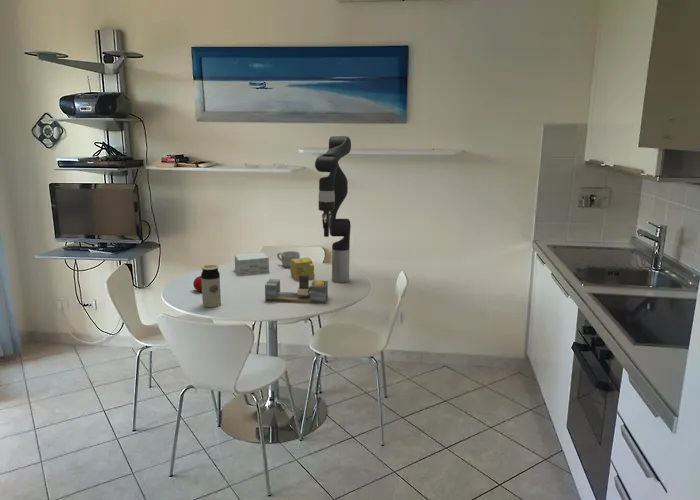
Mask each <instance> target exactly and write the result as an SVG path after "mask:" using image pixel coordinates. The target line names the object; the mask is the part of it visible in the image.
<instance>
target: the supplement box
mask: <svg viewBox="0 0 700 500" xmlns="http://www.w3.org/2000/svg"><path fill="white" fill-rule="evenodd" d="M269 260H270V259H269V256H268V255H267V254H266V253H265V252H254V253H241V254H234V271H235V272H236V274H237V275H238V277H243V276H244V277H245V276H254V275H264V274H270V263H269V262H270V261H269Z"/></svg>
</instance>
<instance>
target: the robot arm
mask: <svg viewBox="0 0 700 500" xmlns="http://www.w3.org/2000/svg"><path fill="white" fill-rule="evenodd" d="M351 149H352V142H351V138H350V137H349V136H346V135H342V136H341V135H338V136H336V135H334V136H330V137H329V140H328V150H327V151H326V153H323V154H321V155H319V156H318V157H316V159H315V162H314V168H315V170H316V171H317V172H319V173H329V175H327V176H324V177H320V178H319V180H318V211H320V212H323V213H322V214H321V221H322V228H323V237H325V238H329V235H330V236H331V237H342V238H341V239H340V240H338V241H335V242H333V243H332V244H331V281H332V282H334V283H339V284H340V283H347V282H349V281H350V257H351V256H350V253H351V252H350V250H351V249H350V246H351V245H350V243H351V241H350V240H351V228H352V227H351V226H352V225H351V220H350V219H349V218H337V214H338V211H339V210H340V207H341V205H342V204H343V202H344V201H345V199H346V197H347V195H348V193H349V192H348V189H349V187H348V185H349V184H348V183H349V182H348V179H347V176H346V174H345V173H344V172H343V170H342V168H341V167H340V164H339V161H340V160H341V159H342V158H343V157H345V156H347V155H349V153H351Z"/></svg>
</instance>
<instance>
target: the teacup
mask: <svg viewBox="0 0 700 500" xmlns="http://www.w3.org/2000/svg"><path fill="white" fill-rule="evenodd" d="M300 254H301V253H300V252H299V251H295V250H289V251H288V250H287V251H286V250H285V251H283V252H278V253H277V254H276V257H277V259H278V260H279V261H280V262H281V264H282V266H284V267H285V268H289V269H290V263H291V259H299V258H301V255H300ZM280 256H281V257H280Z"/></svg>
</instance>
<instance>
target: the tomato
mask: <svg viewBox="0 0 700 500" xmlns="http://www.w3.org/2000/svg"><path fill="white" fill-rule="evenodd" d="M193 287H194V289H195V290H196V291H197V292H201V293H202V281H201V275H199V276H197V277H196V278H194V280H193Z"/></svg>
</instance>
